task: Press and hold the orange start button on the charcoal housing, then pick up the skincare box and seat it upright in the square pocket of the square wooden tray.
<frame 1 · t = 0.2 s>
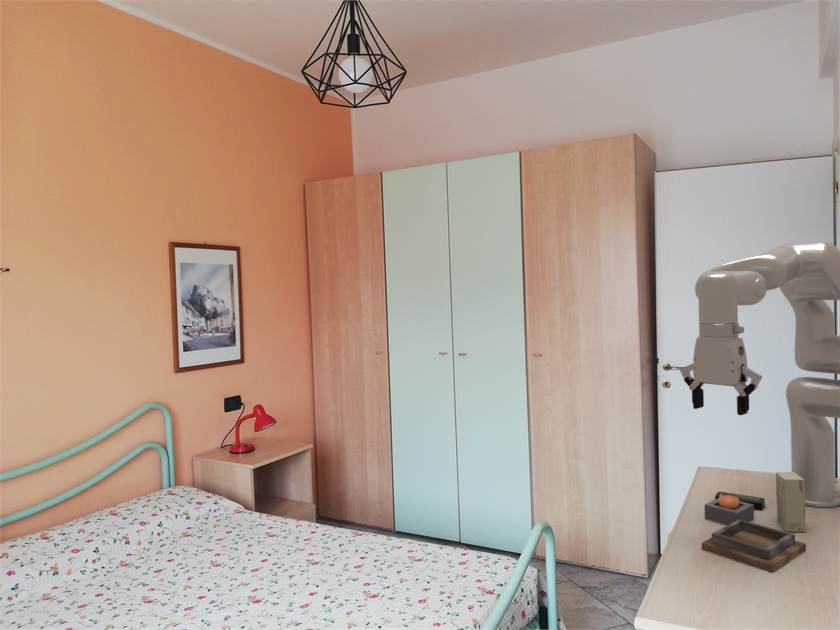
hand: (719, 410, 139), 31 cm above the table, tool pointing down, fingers open, 9 cm apart
square wooden tray: (753, 549, 140), on the table
start button: (728, 503, 157), point 4 cm above the table, slide at 0.0 cm
skincare box: (791, 527, 151), on the table
button housing: (729, 518, 157), on the table
multiport hub: (739, 506, 166), on the table
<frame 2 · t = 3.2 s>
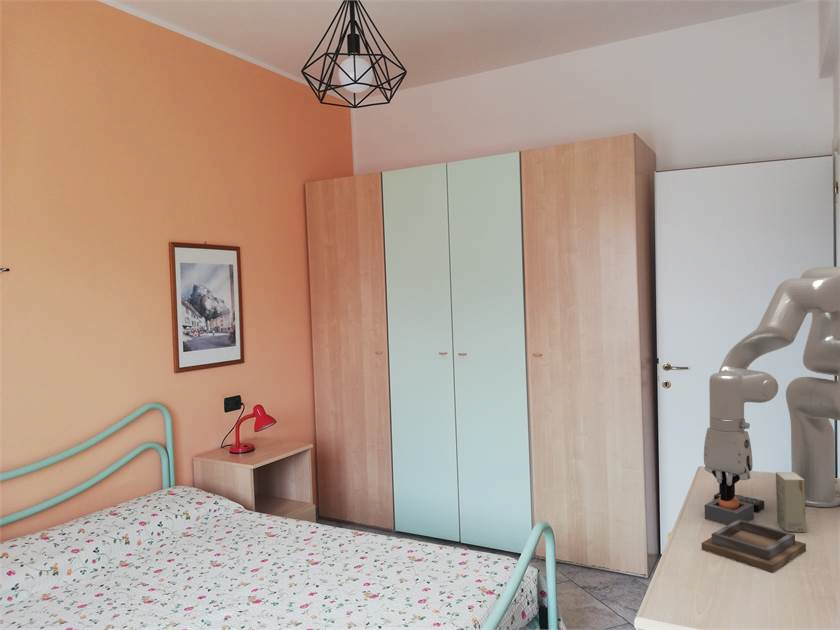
hand: (727, 499, 157), 5 cm above the table, tool pointing down, fingers closed
start button: (728, 504, 157), point 4 cm above the table, slide at 0.1 cm, touching gripper
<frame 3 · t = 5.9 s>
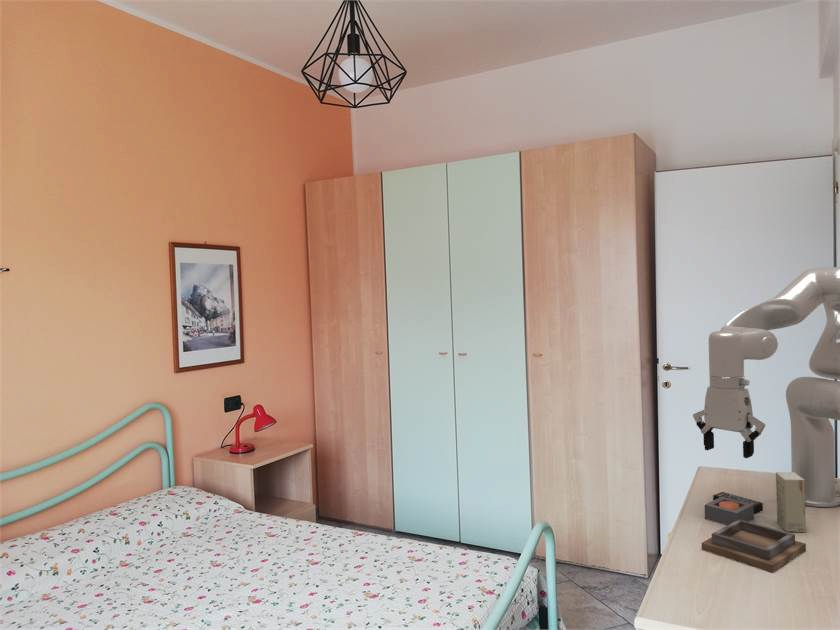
hand: (728, 452, 156), 16 cm above the table, tool pointing down, fingers open, 9 cm apart
start button: (729, 509, 157), point 2 cm above the table, slide at 1.4 cm
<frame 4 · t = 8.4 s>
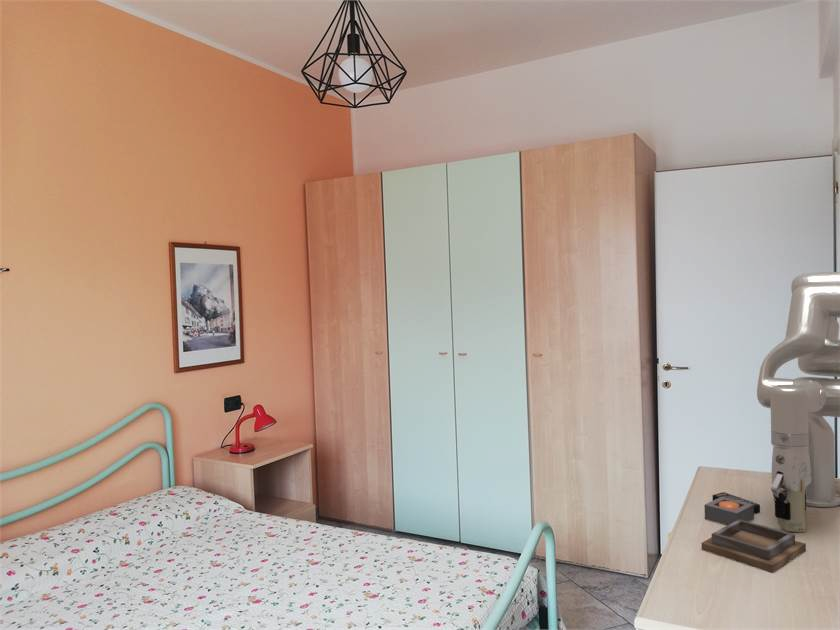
hand: (790, 513, 150), 3 cm above the table, tool pointing down, fingers closed on skincare box, 7 cm apart
skincare box: (790, 527, 151), on the table, touching gripper
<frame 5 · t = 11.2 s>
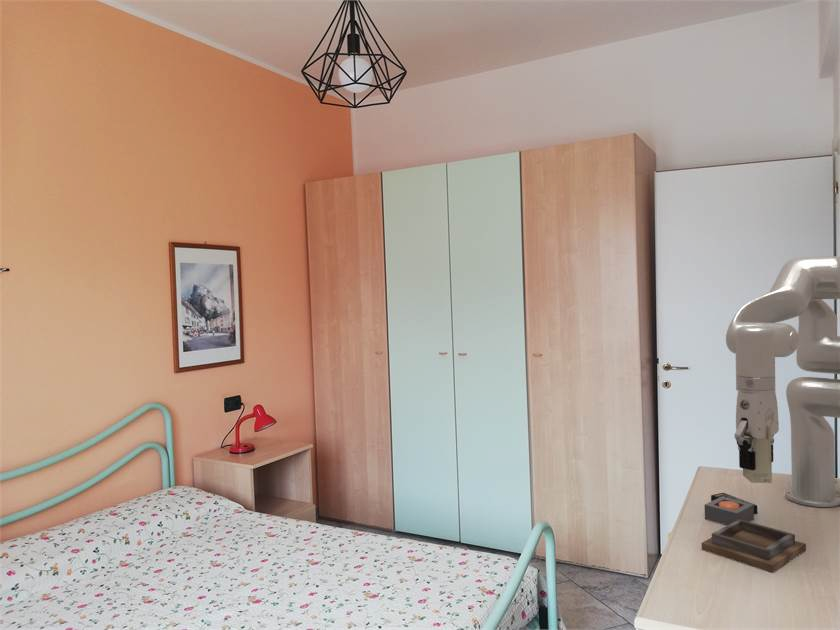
hand: (756, 464, 140), 18 cm above the table, tool pointing down, fingers closed on skincare box, 7 cm apart
skincare box: (756, 480, 140), point 15 cm above the table, touching gripper
when the fingers open (6 cm above the table, at t = 14.3 s): skincare box stays where it is, resting on square wooden tray.
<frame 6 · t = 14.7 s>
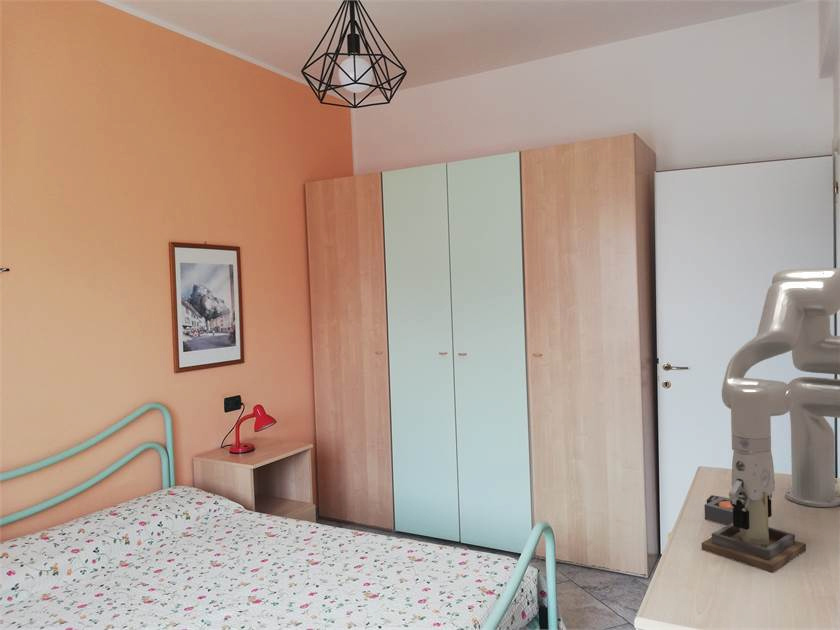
hand: (752, 521, 139), 6 cm above the table, tool pointing down, fingers open, 9 cm apart
skincare box: (754, 543, 140), point 1 cm above the table, touching square wooden tray
multiport hub: (731, 511, 163), on the table
everything else where it was.
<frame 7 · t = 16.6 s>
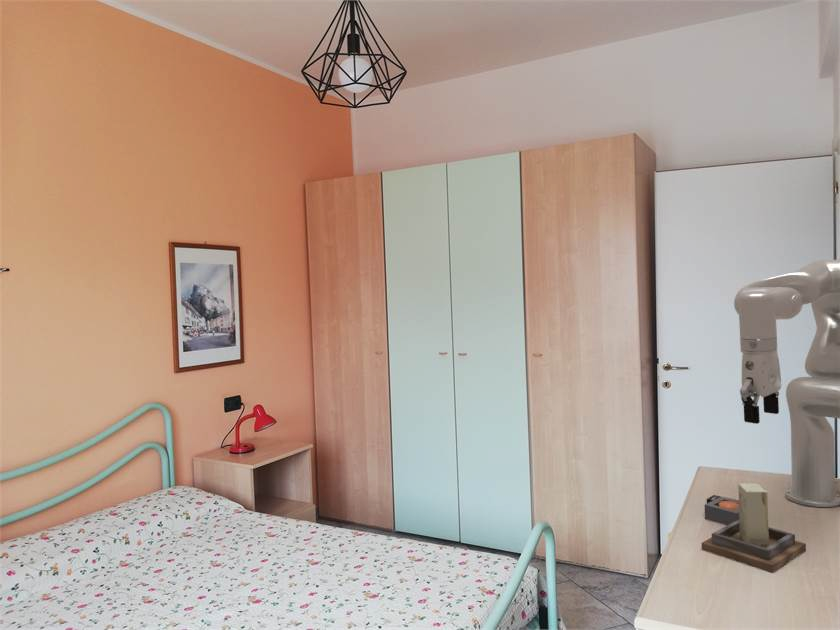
hand: (761, 417, 151), 26 cm above the table, tool pointing down, fingers open, 9 cm apart
nothing on the table moved.
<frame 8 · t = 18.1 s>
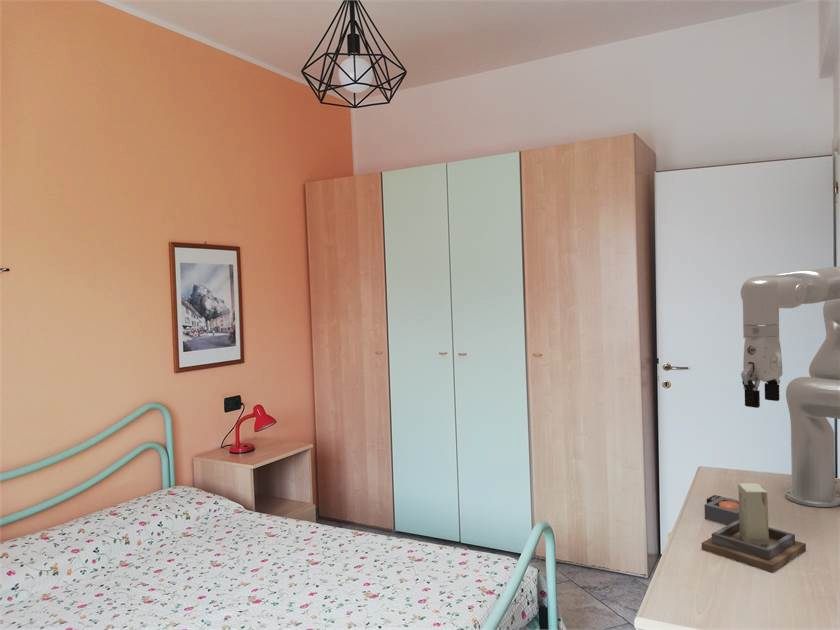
hand: (762, 403, 154), 28 cm above the table, tool pointing down, fingers open, 9 cm apart
nothing on the table moved.
at the end: skincare box 0.4 cm off-centre on the square wooden tray, point 1.3 cm above the square wooden tray's base; skincare box tilted 0°; start button slide at 1.4 cm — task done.
